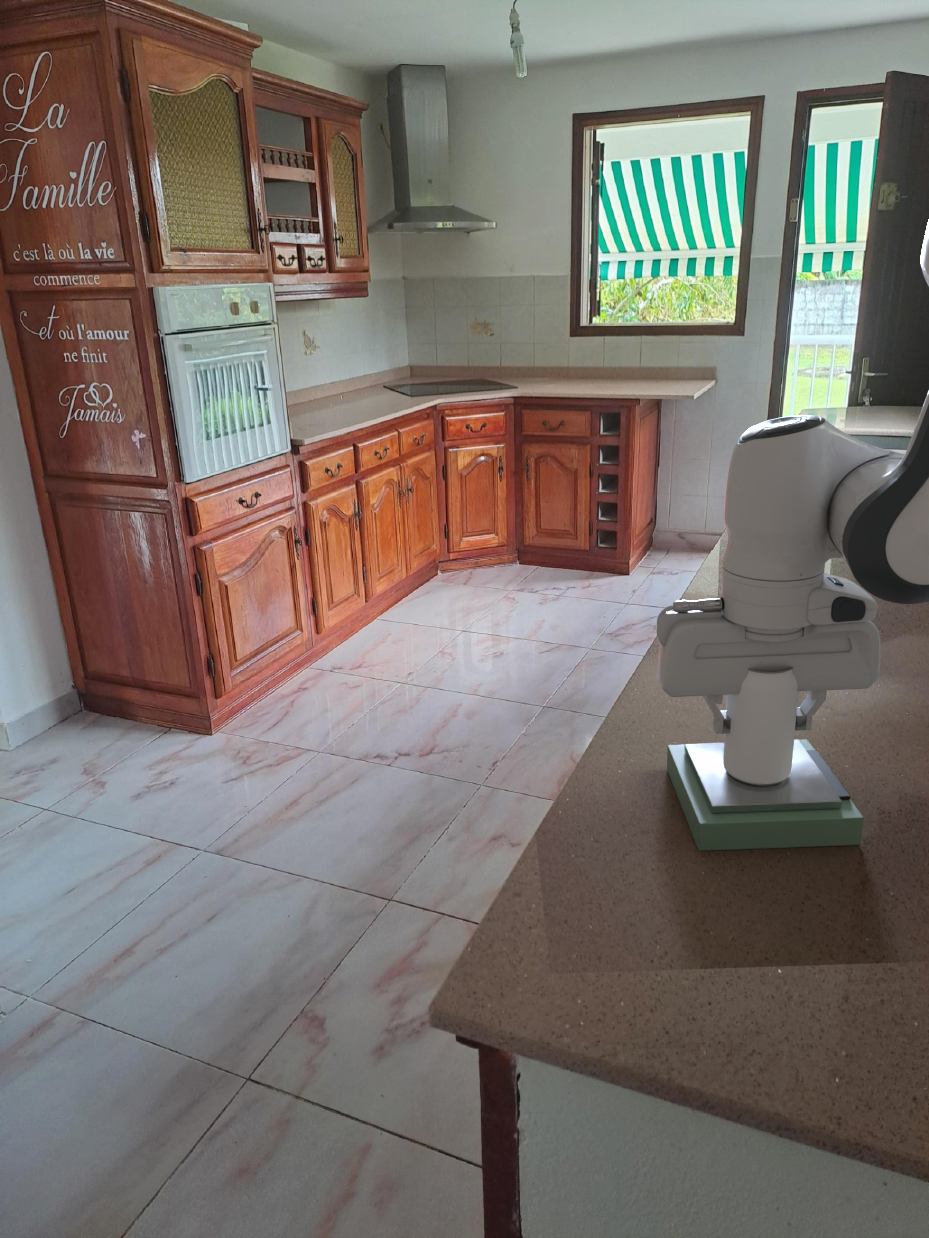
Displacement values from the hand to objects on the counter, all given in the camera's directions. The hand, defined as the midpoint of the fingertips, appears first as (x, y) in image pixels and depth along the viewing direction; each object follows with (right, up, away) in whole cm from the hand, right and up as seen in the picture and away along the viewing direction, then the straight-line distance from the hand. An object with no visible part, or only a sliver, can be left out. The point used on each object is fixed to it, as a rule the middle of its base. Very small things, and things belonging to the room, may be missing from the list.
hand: (761, 729), depth 86 cm
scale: (0, -8, +3) cm, 8 cm away
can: (0, -4, +2) cm, 5 cm away
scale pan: (0, -5, +2) cm, 5 cm away
